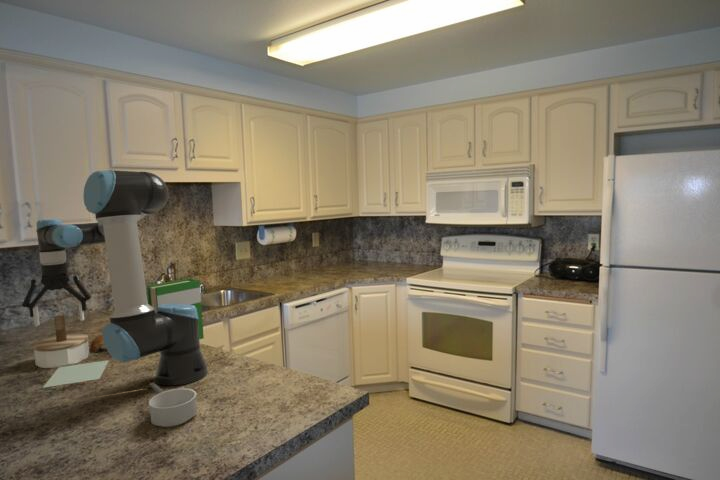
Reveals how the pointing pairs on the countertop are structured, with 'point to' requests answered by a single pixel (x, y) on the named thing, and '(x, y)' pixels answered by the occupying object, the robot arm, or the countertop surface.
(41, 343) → the lid
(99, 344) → the bread roll
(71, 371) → the mat
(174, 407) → the saucepan
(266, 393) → the countertop surface
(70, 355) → the bowl
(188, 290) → the hardback book
